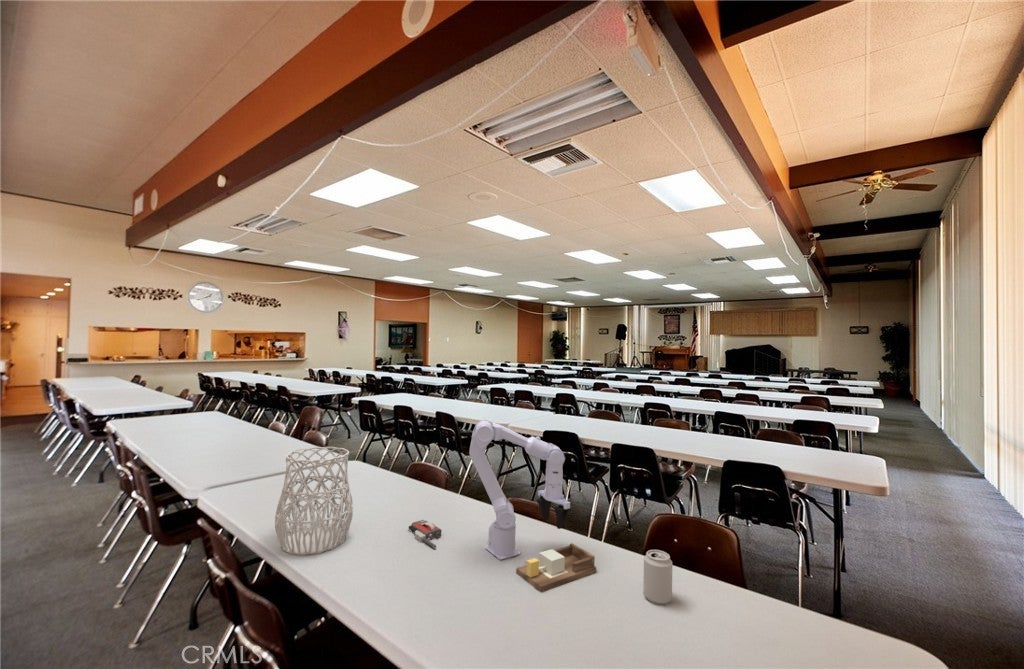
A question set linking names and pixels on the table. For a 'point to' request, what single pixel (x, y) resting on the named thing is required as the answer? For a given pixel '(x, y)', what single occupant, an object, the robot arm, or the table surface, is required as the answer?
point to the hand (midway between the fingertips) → (552, 524)
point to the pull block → (546, 563)
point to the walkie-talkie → (425, 531)
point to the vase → (321, 536)
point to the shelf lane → (575, 568)
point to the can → (657, 577)
